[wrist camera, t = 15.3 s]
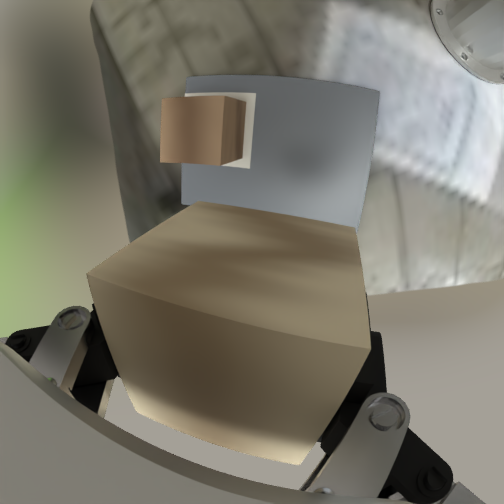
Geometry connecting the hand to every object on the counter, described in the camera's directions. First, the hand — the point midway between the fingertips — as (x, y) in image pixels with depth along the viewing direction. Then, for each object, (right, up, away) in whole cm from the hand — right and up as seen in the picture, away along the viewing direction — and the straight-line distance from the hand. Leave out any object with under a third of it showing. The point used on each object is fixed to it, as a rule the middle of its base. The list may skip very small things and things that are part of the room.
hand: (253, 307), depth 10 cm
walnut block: (-4, +15, +17) cm, 23 cm away
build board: (+2, +13, +17) cm, 21 cm away
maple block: (+1, +1, +2) cm, 2 cm away
